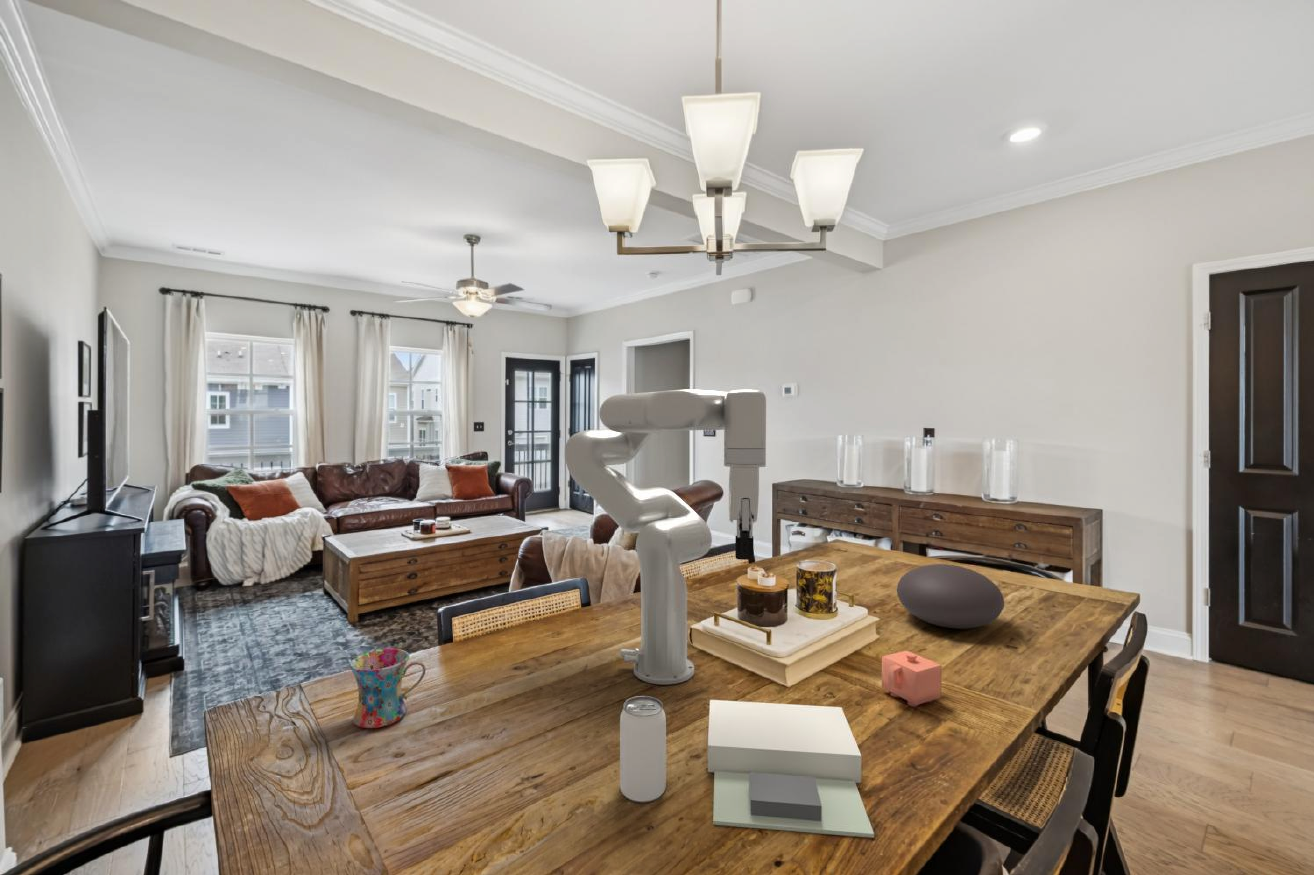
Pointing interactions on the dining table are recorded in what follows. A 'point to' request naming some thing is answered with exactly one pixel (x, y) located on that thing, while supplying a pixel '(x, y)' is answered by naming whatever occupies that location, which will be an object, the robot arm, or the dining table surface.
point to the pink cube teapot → (911, 677)
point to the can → (642, 749)
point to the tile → (784, 796)
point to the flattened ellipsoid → (950, 596)
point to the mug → (381, 686)
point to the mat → (838, 818)
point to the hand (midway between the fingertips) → (744, 558)
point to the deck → (782, 740)
